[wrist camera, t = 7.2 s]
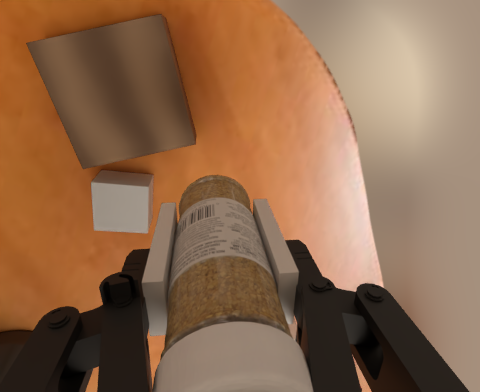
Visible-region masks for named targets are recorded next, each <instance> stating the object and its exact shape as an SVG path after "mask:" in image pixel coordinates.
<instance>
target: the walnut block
mask: <svg viewBox="0 0 480 392" xmlns="http://www.w3.org/2000/svg"><path fill="white" fill-rule="evenodd" d="M26 44H27V46H28V48H29V51H30V53H31V55H32V57H33V59H34V62H35V64H36V66H37V68H38V70H39V73H40V75H41V77H42V79H43V82H44V84H45V86H46V88H47V90H48V93H49V95H50V97H51V99H52V102H53V104H54V106H55V108H56V110H57V113H58V115H59V117H60V119H61V121H62V124H63V126H64V128H65V130H66V133H67V135H68V137H69V139H70V141H71V144H72V146H73V148H74V150H75V153H76V155H77V157H78V159H79V161H80V164H81V166H82V168H83V169H86V168H91V167H95V166H100V165H104V164H109V163H113V162H118V161H122V160H127V159H131V158H136V157H140V156H145V155H149V154H154V153H158V152H163V151H167V150H172V149H176V148H181V147H185V146H190V145H194V144H196V132H195V128H194V124H193V120H192V116H191V112H190V109H189V105H188V101H187V97H186V93H185V90H184V86H183V82H182V78H181V74H180V70H179V67H178V63H177V59H176V55H175V51H174V47H173V44H172V40H171V36H170V32H169V28H168V25H167V21H166V18H165V17H164V16H163V15H161V14H159V15H154V16H149V17H145V18H140V19H135V20H131V21H126V22H122V23H117V24H112V25H108V26H103V27H98V28H94V29H89V30H84V31H80V32H75V33H70V34H66V35H61V36H56V37H52V38H47V39H43V40H38V41H33V42H29V43H26Z"/></svg>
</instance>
